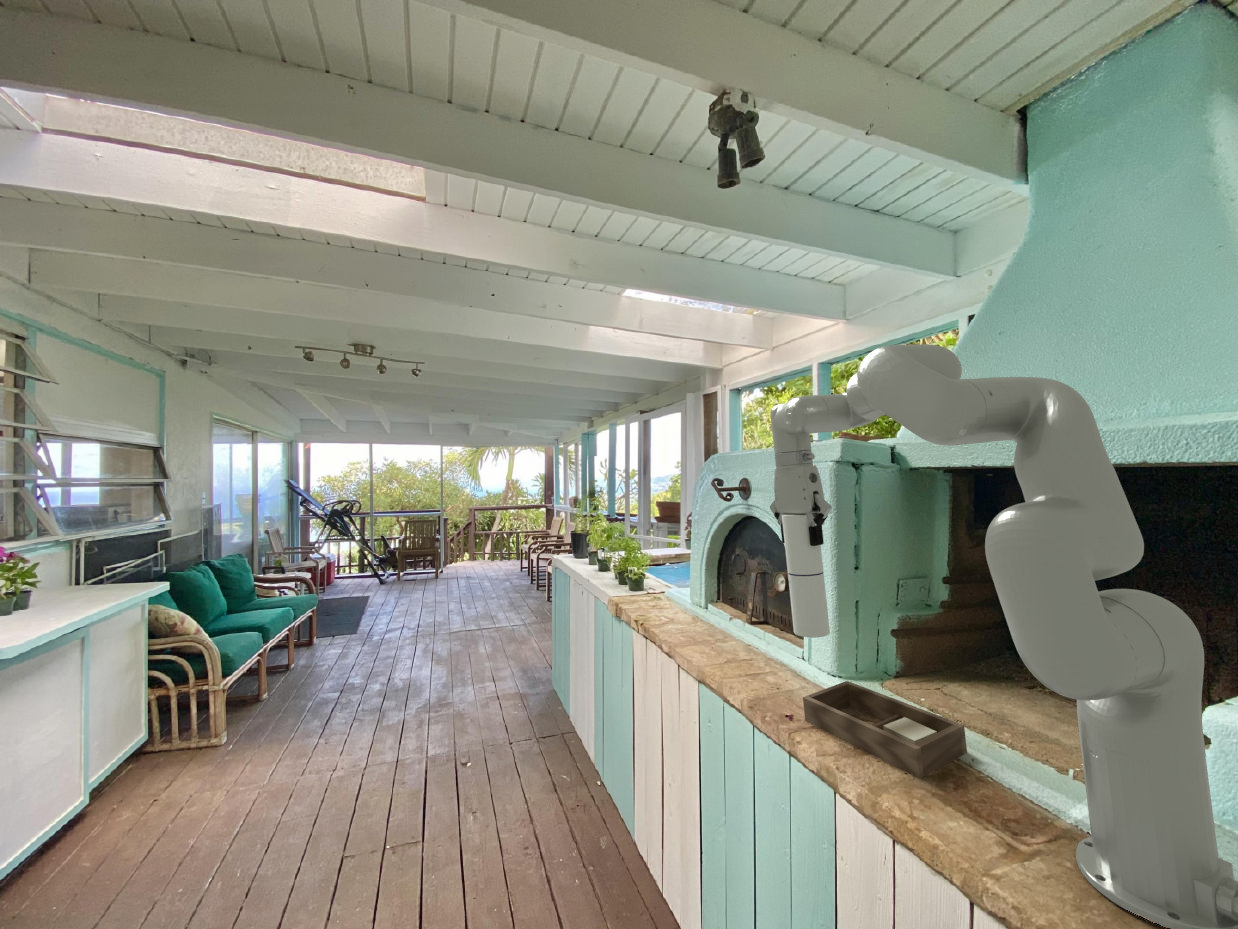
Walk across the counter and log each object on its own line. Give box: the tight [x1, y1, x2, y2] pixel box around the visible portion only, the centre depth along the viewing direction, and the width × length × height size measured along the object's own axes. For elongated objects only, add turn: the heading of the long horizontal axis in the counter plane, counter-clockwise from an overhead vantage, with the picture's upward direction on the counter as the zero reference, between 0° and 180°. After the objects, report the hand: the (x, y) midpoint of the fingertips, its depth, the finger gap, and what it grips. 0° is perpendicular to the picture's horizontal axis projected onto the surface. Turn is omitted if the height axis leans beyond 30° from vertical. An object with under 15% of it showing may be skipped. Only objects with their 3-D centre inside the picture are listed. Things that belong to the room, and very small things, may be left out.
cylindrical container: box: [782, 514, 831, 639], centre depth 105 cm, size 7×7×25 cm
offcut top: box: [883, 717, 937, 744], centre depth 81 cm, size 6×5×2 cm
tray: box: [802, 680, 968, 779], centre depth 86 cm, size 22×12×5 cm, turn 26°
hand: (802, 543), depth 105 cm, fingers closed on cylindrical container, 7 cm apart
